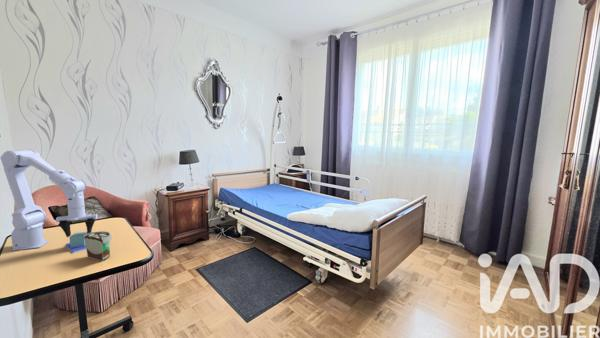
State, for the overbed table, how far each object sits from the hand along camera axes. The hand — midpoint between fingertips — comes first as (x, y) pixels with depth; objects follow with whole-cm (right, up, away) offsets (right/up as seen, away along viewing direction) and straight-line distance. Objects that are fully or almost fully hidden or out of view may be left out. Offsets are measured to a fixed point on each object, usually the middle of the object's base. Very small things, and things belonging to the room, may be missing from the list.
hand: (79, 235), depth 115 cm
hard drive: (0, -6, +1) cm, 6 cm away
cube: (0, -5, 0) cm, 5 cm away
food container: (+17, -7, -8) cm, 20 cm away
